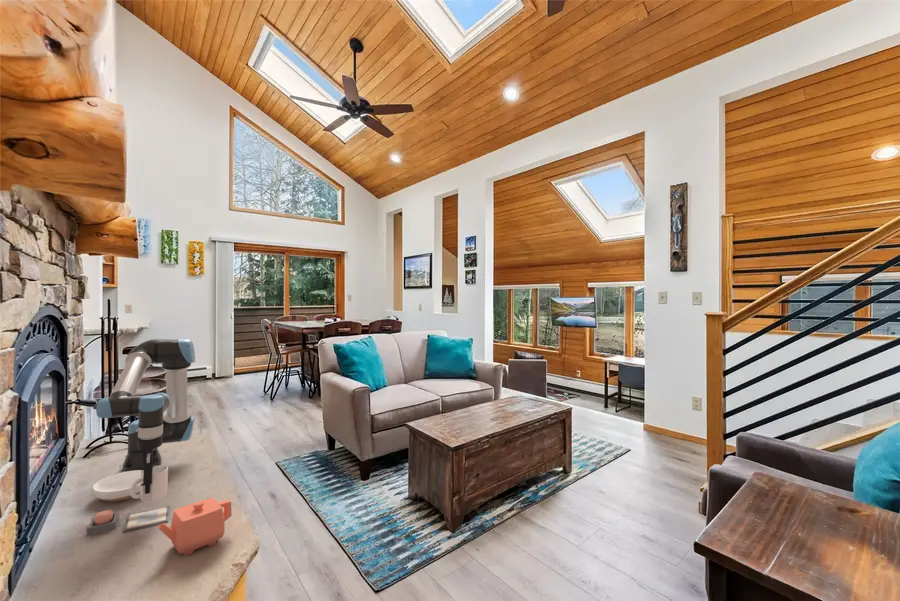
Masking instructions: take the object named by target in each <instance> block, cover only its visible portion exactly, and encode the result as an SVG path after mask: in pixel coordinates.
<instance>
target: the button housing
mask: <svg viewBox="0 0 900 601" xmlns="http://www.w3.org/2000/svg"><path fill="white" fill-rule="evenodd" d="M119 517H120V516H119V512H118V511H117V512H113V520H112V522H109V523H104V524H100V525H95V526H94V518H95V516H94V517H92V518H90V521H89V524H88V526H87V530H86V536H87V537H88V536H91V535H96V534H101V533H103V532H108V531H113V530H116V528H117V524H118V522H119Z"/></svg>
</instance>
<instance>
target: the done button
mask: <svg viewBox="0 0 900 601" xmlns="http://www.w3.org/2000/svg"><path fill="white" fill-rule="evenodd" d="M113 513H114V511H113V509H112V510H111V509H107V510H101V511H100V512H96V514H95V515H94V517H95V518H94V517H93V518H94V526H95V525H100V524H104V523H109V522H112V520H113Z"/></svg>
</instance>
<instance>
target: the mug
mask: <svg viewBox="0 0 900 601" xmlns="http://www.w3.org/2000/svg"><path fill="white" fill-rule="evenodd" d="M143 476H144V470H143V471H142V472H141V478H139V479H137V480H136V481H135V482H134V483H133V484H132V486H131V488H130V495H131V497H132V498H131V499H135V500H136V499H140V501H142V502H143V486H141V487H140V493H139V494H138V495H136V494H135V492H134V490H135V487H136V485H137V484H138V483H140V482H141V484H143ZM168 479H169V466H167V465H161V464H160V465H159V466H154V467H153V473H152V482H153V484H152V501H148V503H150V502H155V501H158V500H161V499H163V498H164V497H165V496H166V495H168V482H169V480H168Z"/></svg>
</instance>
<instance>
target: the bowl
mask: <svg viewBox="0 0 900 601" xmlns="http://www.w3.org/2000/svg"><path fill="white" fill-rule="evenodd" d="M142 471H143V470H135V471H127V472H123V471H121V472H117V473H113V474H111V475H108V476H105V477H104V478H102V479H100V480H97V482H95V483H94V484H93V486H92V492H93V494H94V496H95V498H96V499H99V500H101V501H105V502H106V501H107V502H113V503H114V502H115V503H116V502H122V501H126V500H129V499H133V498H132V497H131V495H130V488H131V486H132V484H133V483H134V482H135V481H136V480H137V479H139V478H141V472H142ZM140 487H141V482H140V483H138V484H137V485H136V487H135V490H134V492H135V494H136V495H138V494H140Z"/></svg>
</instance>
